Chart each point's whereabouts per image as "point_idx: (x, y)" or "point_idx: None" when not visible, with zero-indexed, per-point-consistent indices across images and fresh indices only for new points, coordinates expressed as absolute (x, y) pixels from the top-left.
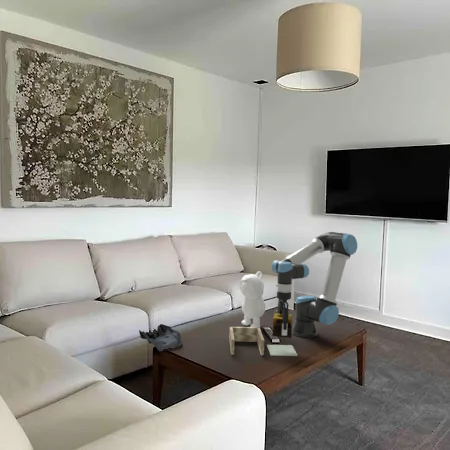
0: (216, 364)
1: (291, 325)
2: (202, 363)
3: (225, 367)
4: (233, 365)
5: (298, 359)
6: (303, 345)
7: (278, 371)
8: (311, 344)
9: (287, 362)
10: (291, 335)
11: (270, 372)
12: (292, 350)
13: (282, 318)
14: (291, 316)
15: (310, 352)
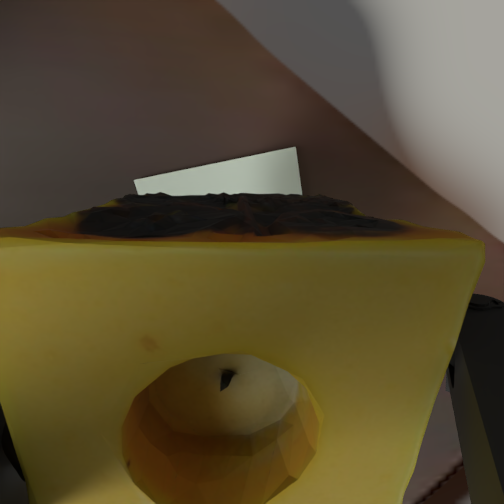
0: (424, 456)
1: (322, 212)
2: (418, 491)
3: (449, 428)
4: (432, 409)
5: (343, 141)
6: (88, 96)
7: (493, 243)
8: (39, 25)
9: (389, 204)
10: (297, 195)
11: (501, 276)
12: (228, 177)
13: (409, 429)
14: (189, 250)
15: (211, 49)
